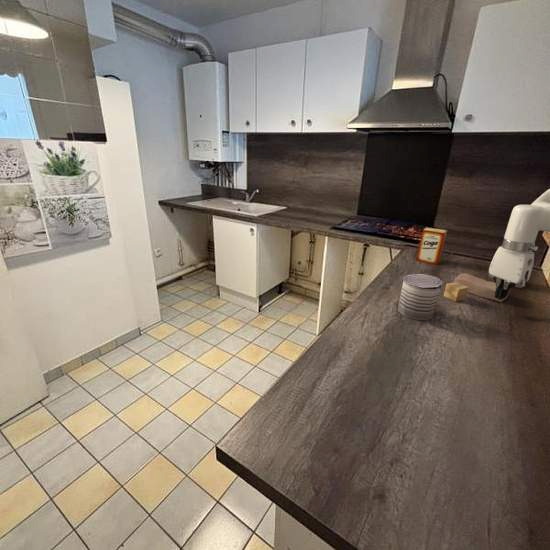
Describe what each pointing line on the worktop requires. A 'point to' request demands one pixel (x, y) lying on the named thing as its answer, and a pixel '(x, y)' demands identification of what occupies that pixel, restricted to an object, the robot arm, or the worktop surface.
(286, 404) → the worktop surface
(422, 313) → the can
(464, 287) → the beech block
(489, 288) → the brick
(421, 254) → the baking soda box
